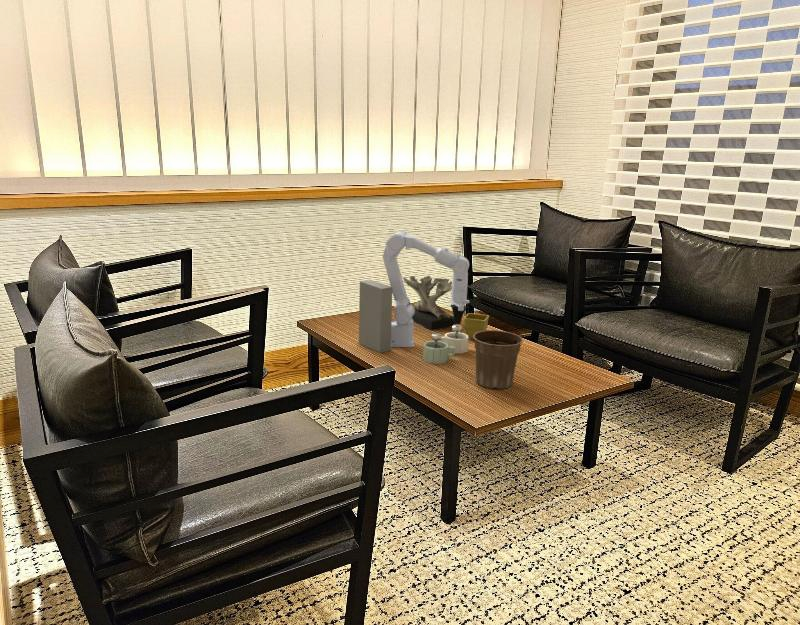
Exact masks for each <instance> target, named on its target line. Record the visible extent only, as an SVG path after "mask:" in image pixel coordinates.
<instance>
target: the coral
mask: <svg viewBox="0 0 800 625" xmlns="http://www.w3.org/2000/svg"><path fill="white" fill-rule="evenodd" d="M402 280H403V283H405V285H407V286H408V287H410V288H411V289H413V290H414V291H415V292H416V293H417V295H418V296H419V298H420V300H418V301H417V302H414V303H413V307H414V309H415V313H414V315H413V317H412V319H413V321H414V323H415V322H416V323H415V324H417V323H418V324H417V325H419V324H420V326H421V325H422V327H423V326H424V328H425V327H426V328H425V329H428V330H429V331H434V330H435V329H436V330H441V329H446V328H445V327H447V328H451V327H450V326H453V325H457V324H455V323H454V317H453V315H450V314H449V313H447V312H446V311H445V310H442V308H441V307H440V306H438V305H437V303H436V302H437V300H438V299H439V298H440V297H442V296H444V295H446V294H447V293H448V292H450V291H452V281H450V279H449V278H448V279H447V278H434V279H433V278H432V277H431V276H430V275H427V276H424V277H421V278H419V280H420V281H418V279H417V278H416V277H415V275H410V276H409V279H407V278H406V277H403V278H402ZM435 287H436V288H435ZM434 288H435V293H434V294H432V295H430V294H431V291H432V290H433V289H434ZM440 328H441V329H440ZM436 330H435V331H436Z"/></svg>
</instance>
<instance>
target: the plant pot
mask: <svg viewBox="0 0 800 625" xmlns="http://www.w3.org/2000/svg"><path fill="white" fill-rule="evenodd" d="M473 338H474V339H473V340H474V349H475V380H476V384H478V385H480V386H481V387H483V388H487V389H494V388H495V389H498V390H504V389H508V388H511V386H512V385H513V381H514V377H515V371H516V365H517V360H518V356H519V353H520V350H521V345H522V343H523V342H524V339H523V338H522V336H521V335H519V334H516V333H513V332H509V331H506V330H505V331H504V330H498V329H497V330H495V329H492V330H491V329H490V330H489V329H488V330H487V329H486V331H480V332H476V333H475V334H474V335H473Z"/></svg>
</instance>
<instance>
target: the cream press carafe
mask: <svg viewBox="0 0 800 625" xmlns="http://www.w3.org/2000/svg"><path fill="white" fill-rule="evenodd" d="M451 336H455V331H451V332H447V333H445V334H444V336H441V340H438V341H440V342H442V341H443V342H445V343H447V344H448V346H449V347H455V354H465V353H466V352H468V350H469V339H470V338H469V337H468V335H466V333H464V332H460V331H458V336H459V337H463V339H453V338H449V337H451ZM448 353H449V354H451V353H452V350H448Z"/></svg>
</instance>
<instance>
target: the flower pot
mask: <svg viewBox="0 0 800 625" xmlns="http://www.w3.org/2000/svg"><path fill="white" fill-rule="evenodd" d="M489 318H490V316H489V315H488V314H481V313H479V314H478V313H472V312H471V313H468V312H467V314H466V315H465V317H463V325H464V326H463V327H464V331H465V333H464V334H466V335H468V337H469V338H468V339H473V340H475V339H474V338H473V335H474V334H475V333H476V332H480V331H486V330H487V328H488V324H489Z"/></svg>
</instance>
